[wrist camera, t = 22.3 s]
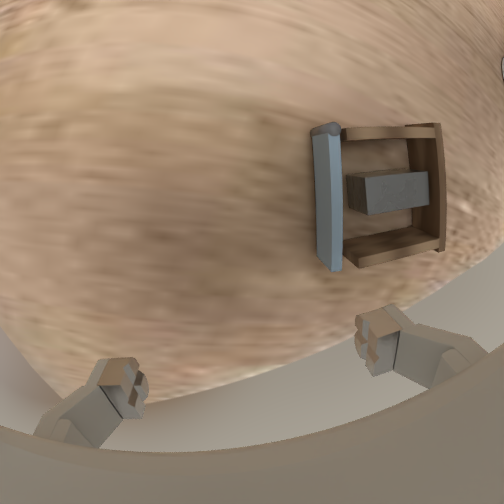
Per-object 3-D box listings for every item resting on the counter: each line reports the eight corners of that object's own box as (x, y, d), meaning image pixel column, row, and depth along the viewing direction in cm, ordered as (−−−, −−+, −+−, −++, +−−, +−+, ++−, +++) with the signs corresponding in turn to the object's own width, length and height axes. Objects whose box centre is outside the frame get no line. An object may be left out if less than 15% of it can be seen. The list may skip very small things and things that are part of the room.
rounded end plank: (321, 127, 28) (340, 122, 23) (326, 254, 33) (343, 271, 28) (309, 127, 28) (327, 121, 23) (315, 255, 33) (331, 273, 28)
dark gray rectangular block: (404, 168, 31) (427, 171, 26) (406, 197, 32) (429, 204, 28) (345, 174, 31) (364, 177, 26) (348, 207, 32) (367, 215, 27)
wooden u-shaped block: (411, 125, 29) (440, 123, 23) (418, 237, 34) (444, 250, 29) (323, 127, 29) (344, 122, 23) (338, 255, 34) (358, 273, 28)
